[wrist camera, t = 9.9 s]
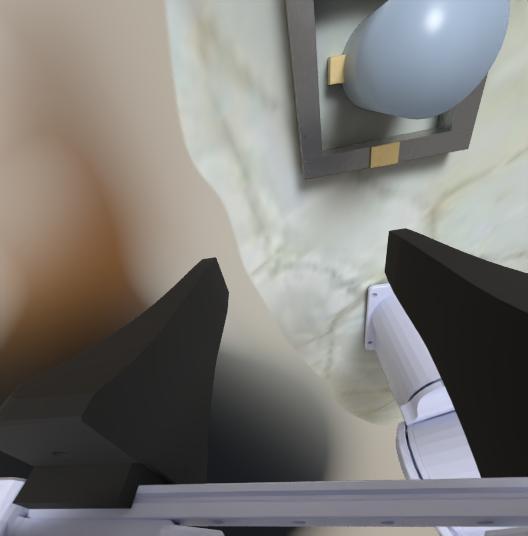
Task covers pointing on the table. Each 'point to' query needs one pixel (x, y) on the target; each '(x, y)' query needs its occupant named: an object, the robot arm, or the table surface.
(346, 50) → the blue-grey rounded tapered piece
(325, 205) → the table surface
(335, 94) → the table surface
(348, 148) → the collar
